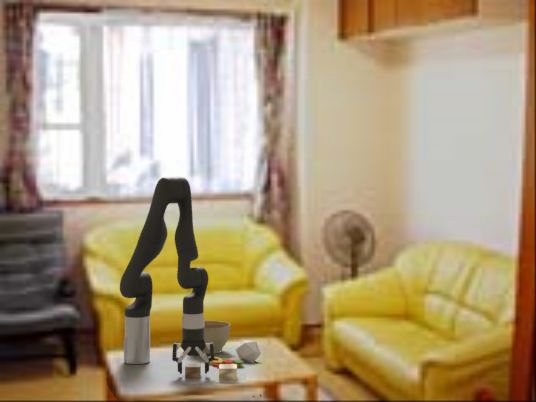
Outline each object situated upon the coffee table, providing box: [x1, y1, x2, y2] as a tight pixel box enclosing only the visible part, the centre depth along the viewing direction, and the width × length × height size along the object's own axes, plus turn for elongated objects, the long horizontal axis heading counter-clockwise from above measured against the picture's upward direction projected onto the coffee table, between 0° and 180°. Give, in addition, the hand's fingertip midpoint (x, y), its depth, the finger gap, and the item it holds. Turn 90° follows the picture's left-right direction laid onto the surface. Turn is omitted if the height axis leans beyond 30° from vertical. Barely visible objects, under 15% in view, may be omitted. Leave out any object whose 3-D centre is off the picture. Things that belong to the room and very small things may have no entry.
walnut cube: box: [184, 363, 202, 379], centre depth 291 cm, size 5×5×5 cm
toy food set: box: [207, 356, 245, 370], centre depth 308 cm, size 13×13×3 cm
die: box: [235, 339, 262, 364], centre depth 316 cm, size 8×9×10 cm
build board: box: [209, 373, 247, 384], centre depth 289 cm, size 12×12×1 cm
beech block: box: [218, 364, 238, 380], centre depth 289 cm, size 6×6×4 cm
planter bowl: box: [203, 320, 231, 355], centre depth 331 cm, size 16×16×11 cm
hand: (193, 373), depth 290 cm, fingers open, 8 cm apart
